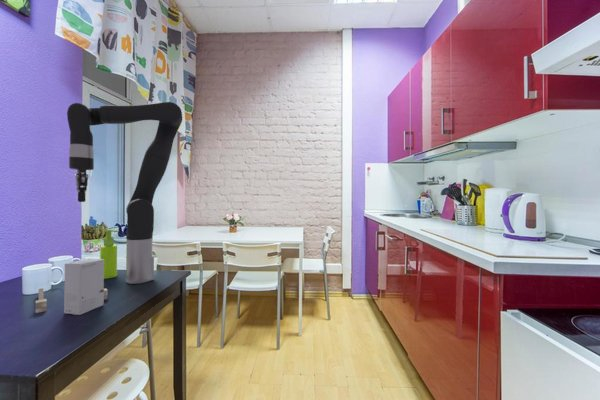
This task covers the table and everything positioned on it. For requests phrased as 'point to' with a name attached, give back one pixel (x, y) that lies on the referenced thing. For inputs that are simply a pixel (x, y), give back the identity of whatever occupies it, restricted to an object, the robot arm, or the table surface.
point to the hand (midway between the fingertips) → (81, 201)
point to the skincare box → (83, 286)
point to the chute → (42, 303)
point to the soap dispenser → (109, 255)
